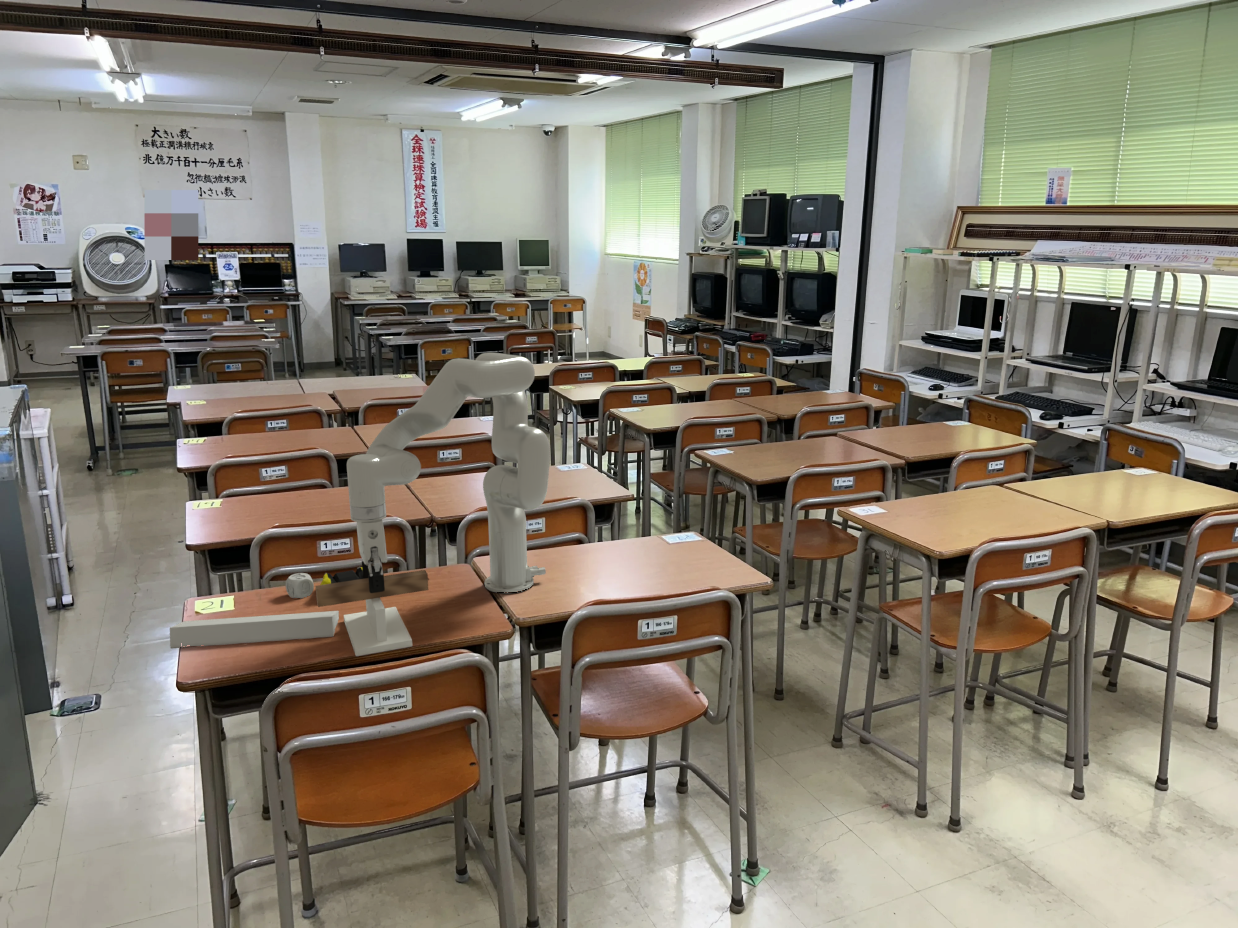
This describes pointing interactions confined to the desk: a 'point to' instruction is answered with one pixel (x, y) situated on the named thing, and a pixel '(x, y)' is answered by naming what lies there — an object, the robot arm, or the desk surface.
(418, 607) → the desk surface
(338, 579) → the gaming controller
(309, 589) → the die
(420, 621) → the desk surface
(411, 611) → the desk surface
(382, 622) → the stand
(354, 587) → the walnut batten
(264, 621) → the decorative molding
